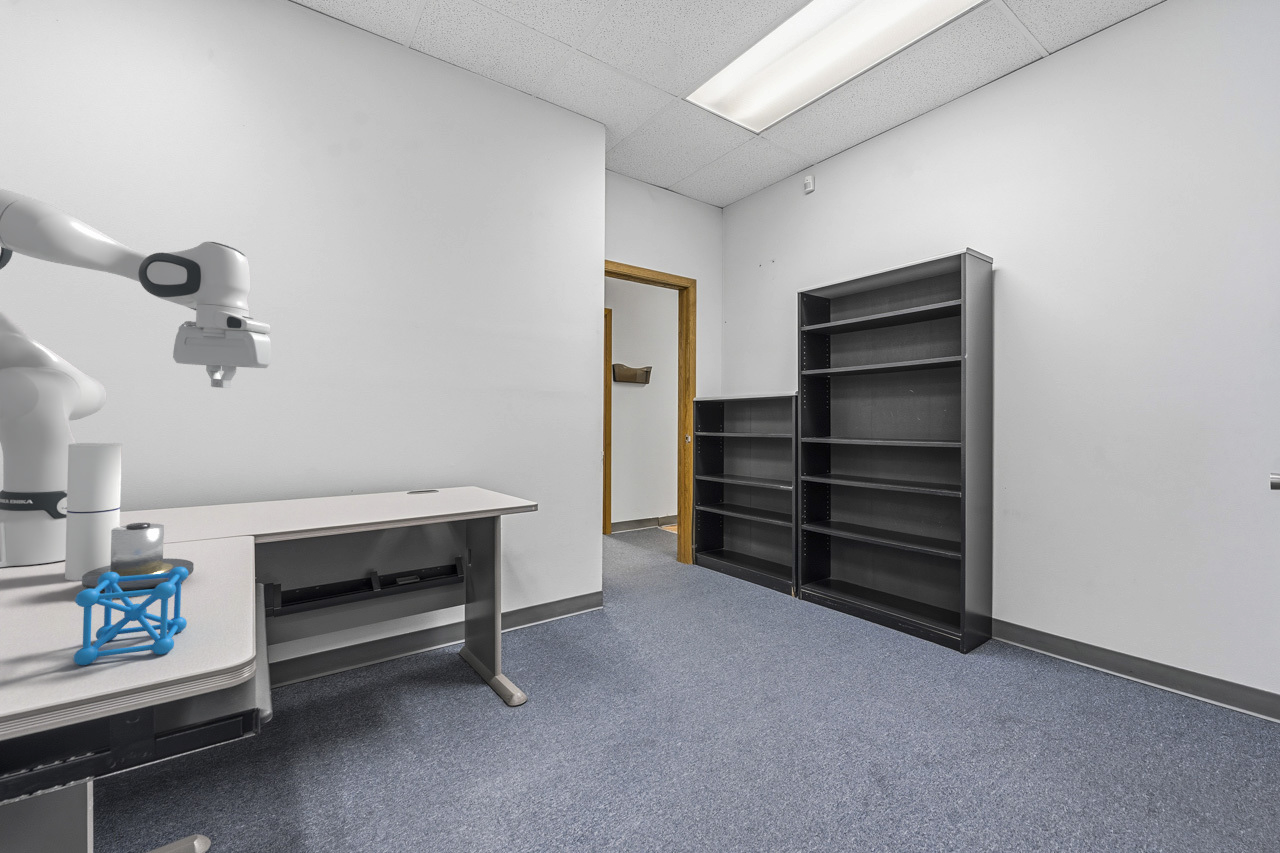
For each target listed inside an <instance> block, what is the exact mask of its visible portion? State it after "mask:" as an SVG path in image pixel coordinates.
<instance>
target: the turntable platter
mask: <svg viewBox="0 0 1280 853" xmlns="http://www.w3.org/2000/svg"><path fill="white" fill-rule="evenodd" d="M175 567H185V568H186V569H187V570H188V576H190V575H191V574H192V573H193V572H194V567H195V566H194V562H193V561H191V560H187V559H181V558H163V569H162V570H160V571H158V572H155V573H151V574H160V573H169V572H170V571H171V570H172V569H173V568H175ZM106 572H110V565H109V566H104V567H101V568H97V569H94V570H92V571H89V572H87V573H86V574H84V575H83V576H82V580H81V586H82V587H83V588H85V589H94V588H96V587H97V586H98V583H97V581H98V578H99V577H100V576H101V575H102V574H104V573H106ZM168 580H169V578H160V579H148V580H136V581H124V582H119V583H118V584H117V585H118V586H119V587H120V589H121V590H124V589H134V588H142V587H149V586H154V585H159V584H161V583H164V582H167V581H168ZM102 590H105V588H103V589H102ZM102 590H101V591H102Z"/></svg>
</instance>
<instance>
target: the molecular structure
mask: <svg viewBox="0 0 1280 853" xmlns="http://www.w3.org/2000/svg"><path fill="white" fill-rule="evenodd" d="M188 576H189V575H188V570H187V569H186V568H185V567H175V568H173V569H172V570H171V571H170V572H169V573H160V574H147V575H135V576H122V577H120V576H119V575H118V574H117V573H115V572H106V573H104V574H102V575H101V576H100V577H99V578H98V581H97V583H98V586H97V587H96V588H94V589H88V588H85V589H82V590H80V591H79V592H78V593H77V594H76V596H75V598H74V601H75V602H74V603H75V604H76V605H77V606H78V607H81V608H83V619H82V620H83V622H82V623H83V624H82V647H81V648H79V649H78V650H77V651H76V652H75V653H74V655H73V658H72V659H73V662H74V663H75V664H76V665H78V666H87V665H90V664H92V663H93V662H96V660H97V659H98V658H101V657H102V658H103V657H108V656H116V655H123V654H124V655H125V654H131V653H137V652H145V651H146V652H147V651H152V652H153V653H154V654H155V655H158V656H159V655H160V656H161V655H166V654H168V653H170V652H171V651H172V649H173V648H174V647H175V641H174V639H173V636H174V635H175V634H178V633H180V632H182V631H184V630H185V629H186V627H187V623H188V621H187V620H186V618H185V617H183V616H181V604H182V603H181V602H182V601H181V600H182V599H181V598H182V582H183V581H186V580H187V578H188ZM160 578H169V580H168V581H167V582H164V583H161V584H159V585H157V586H156V588H155V589H149V590H138V591H127V592H123V591H122V590H121V589H120V587H119V586H118V585H117V584H118V583H119V582H124V581H136V580H148V579H160ZM103 588H105V592H103V593H100V592H101V591H102V589H103ZM112 590H113V591H114V592H115V593H112ZM142 596H148V597H147V598H146V599H145V600H143V601H142V603H133V601H131V600H130V597H142ZM172 597H174V598H173V599H174V605H173V617H172V618H171V619H169V617H168V615H169V611H168V609H169V599H170V598H172ZM113 599H119V600H120V601H121V602H122V603H123V604H124V605H123V604H120V603H117V602H113ZM158 600H160V616H159V615H155V614H153V613H149V612H147V610H148V609H147V608H148V607H150V606H152V605H153V603H155V602H157V601H158ZM95 605H99V606H103V607H104V612H103V614H104V616H103V625H102V626H101V627H100V628H98V629H97V631H96V633H95V638H96V640H95V642H93V644H91V643H92V642H91V641H92V613H93V612H92V609H93V606H95ZM112 609H113V610H116V611H119V612H123V613H124V614H123V615H124V617H122V618H121V619H120V620H119V621H117V622H116V623H115V624H112ZM148 620H149V621H151V622H152V621H153V622H156V623H159V624H150V622H149V621H148ZM135 621H138V623H139V624H140V625H141V626H134V627H133V626H132V627H126V628H124V627H125V626H126V625H127V624H128V623H129V622H135ZM158 630H159V631H160V632H159V633H158V632H157V631H158ZM141 632H146V633H147V634H148V635H149V636H150V637H151V639H152V640H153V641H154V642H153V643H152V644H144V645H136V646H128V647H121V648H112V649H106V650H99V649H100V648H101V647H103V646H104V645H105V644H106V643H107V642H110V641H113V640H114V639H115V638H116V637H117V636H118V635H125V634H134V633H141Z"/></svg>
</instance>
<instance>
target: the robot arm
mask: <svg viewBox="0 0 1280 853" xmlns="http://www.w3.org/2000/svg"><path fill="white" fill-rule="evenodd" d="M13 252H15V253H17V254H21V255H23V256H26V257H30V258H34V259H38V260H41V261H46V262H51V263H55V264H61V265H65V266H72V267H76V268H84V269H87V270H94V271H99V272H103V273H108V274H112V275H113V274H114V275H117V276H120V277H125V278H127V279H130V280H133V281H137V282H139V283H140V285H141V286H142V288H143V289H144V290H145V291H146V292H148V293H149V294H150V295H153V296H154V297H156V298H158V299H161V300H164V301H168V302H170V303H174V304H177V305H180V306H183V307H186V308H189V309H190V310H194V311H195V312H196V313H195V321H192V320H187V321H184V323H182V324H180V326H179V327H178V331H177V333H176V335H175V336H176V337H175V340H174V344H173V351H172V358H173V360H174V361H175V363H176V364H179V365H180V364H182V365H192V366H193V365H195V366H205V367H206V368H205V371H206V373H207V374H208V376H209V378H210V379H211V380H210V387H211V388H219V389H221V388H222V389H230V388H231V381H232V380H233V378H234V376H235V375H236V373H237V367H238V368H249V369H250V368H251V369H253V368H254V369H255V368H256V369H267V368H268V367H269V366H270V364H271V361H272V342H271V338H270V337H269V336H268V335H269V334H270V333H271V330H272V328H271V325H270V324H268V323H267V322H263V321H261V320H258V319H257V318H256V319H255V318H253V317H251V316H250V307H249V305H248V304H249V302H248V299H249V295H250V293H251V272H250V271H251V268H250V263H249V259H248V257H247V256H246V255H245V254H244V253H242V251H239V249H237V248H234V247H231V246H229V245H226V244H223V243H219V242H215V241H203V242H201V243H199V245H197V246H194V247H193V248H188V249H184V250H178V251H171V252H170V251H169V252H156V253H155V252H154V253H151V254H147V253H144V252H142V251H139V250H137V249H134V248H131V247H130V246H127V245H125V244H123V243H121V242H120V241H118V240H116V239H114V238H112V237H110V236H109V235H107V234H105V233H103V232H101V231H100V230H98V229H96V228H95V227H93V226H91V225H89V224H88V223H86V222H84V221H82V220H80V219H78V218H77V217H76V216H73V215H71V214H70V213H67V212H66V211H64V210H61V209H59V208H57V207H55V206H53V205H50V204H48V203H46V202H43V201H41V200H38V199H35V198H32V197H29V196H26V195H25V194H21V193H17V192H15V191H10V190H8V189H4V188H3V189H2V188H0V270H2V269H4V267H6V265H8V263H9V262H10V261H11V259H12V257H13V254H14V253H13ZM221 371H222V372H223V373H222V375H221V374H220V372H221ZM106 402H107V391H106V389H105V387H104V385H103V384H102V383H101V382H100V381H99V380H98V379H96V378H94V377H92V376H91V375H88V374H87V373H85V372H83V371H81V370H80V369H79V368H77V367H76V366H74V365H73V364H71V363H70V362H69V361H67V360H66V359H64V358H62V357H61V356H60V355H58V353H55V352H54V351H52V350H51V349H50V348H48V347H46V346H44V344H42V343H40V342H39V341H37V340H36V339H35V338H33V337H32V336H31V335H30V334H28V333H27V332H26V331H24V329H22V328H21V327H20V326H19V325H18V324H17V323H16V322H14V321H13V320H12V319H11V318H10V317H9V316H8V315H7V314H6V313H4V312H3V311H2V310H1V309H0V445H1V450H2V458H3V459H2V460H3V464H2V466H3V467H2V469H3V470H2V471H3V474H2V476H3V478H2V480H3V487H2V488H3V489H2V490H0V568H6V567H14V566H17V567H18V566H30V565H32V566H33V565H39V564H47V563H54V562H55V563H56V562H62V561H65V558H66V518H67V478H68V444H75V443H77V441H76V440H75V438H74V435H73V432H72V429H71V426H70V421H77V420H81V419H83V418H86V417H89V416H91V415H93V414H95V413H98V412H99V411H100V410H101V409H102V408H103V407H104V405H105V404H106Z"/></svg>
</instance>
